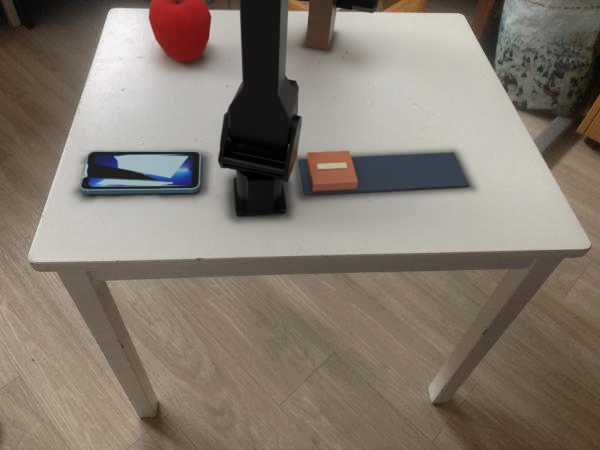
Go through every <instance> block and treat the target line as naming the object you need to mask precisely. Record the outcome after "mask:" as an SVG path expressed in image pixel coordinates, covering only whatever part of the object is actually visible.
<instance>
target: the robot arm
mask: <svg viewBox="0 0 600 450" xmlns="http://www.w3.org/2000/svg"><path fill="white" fill-rule="evenodd" d="M289 1H290V0H239V25H240V50H241V51H240V52H241V54H240V55H241V77H242V78H241V79H242V81H241V83H240V85H239V86H238V89H237V90H236V92H235V94H234V96H233V98H232V100H231V102H230V103H229V106H228V108H227V110H226V112H225V113H224V115H223V119H222V127H221V133H220V140H219V150H218V151H219V152H218V157H217V162H218V165H219V167H220V169H224V170H225V169H228V170H233V171H235V172H236V173H235V175H236V176H235V177H233V180H232V181H233V196H234V212H235V216H238V217H247V216H248V217H249V216H263V215H264V216H265V215H280V214H283V215H284V214H285V213H287V210H288V208H287V201H286V194H285V188H284V182H286V183H289V181H290V179H291V175H292V172H293V169H294V167H295V163H296V161H297V158H298V153H299V145H300V139H301V138H300V137H301V131H302V125H303V116H301V115H299V92H300V86H299V84H298V81H297V80H295V79H291V78H290V79H289V78H288V77H287V76H286V71H287V45H288V27H289V26H288V25H289V23H288V22H289ZM296 1H297V2H308V3H309V0H296ZM379 1H380V0H337V1H336V8H337V9H342V10H348V11H354V10H355V11H357V12H363V13H368V14H374V13H375V12H377V11H378V6H379Z"/></svg>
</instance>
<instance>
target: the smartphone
mask: <svg viewBox="0 0 600 450" xmlns="http://www.w3.org/2000/svg"><path fill="white" fill-rule="evenodd" d="M202 160H203V159H202V154H201V152H199V151H197V150H92V151H90V152H89V153H88V154H87V155H86V158H85V161H84V166H83V169H82V174H81V178H80V181H79V188H80V191H81V193H83V194H85V195H113V194H114V195H115V194H118V195H119V194H120V195H122V194H125V195H126V194H127V195H129V194H194V193H197V192H199V191H200V190H201V182H202V181H201V180H202V162H203V161H202Z"/></svg>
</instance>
